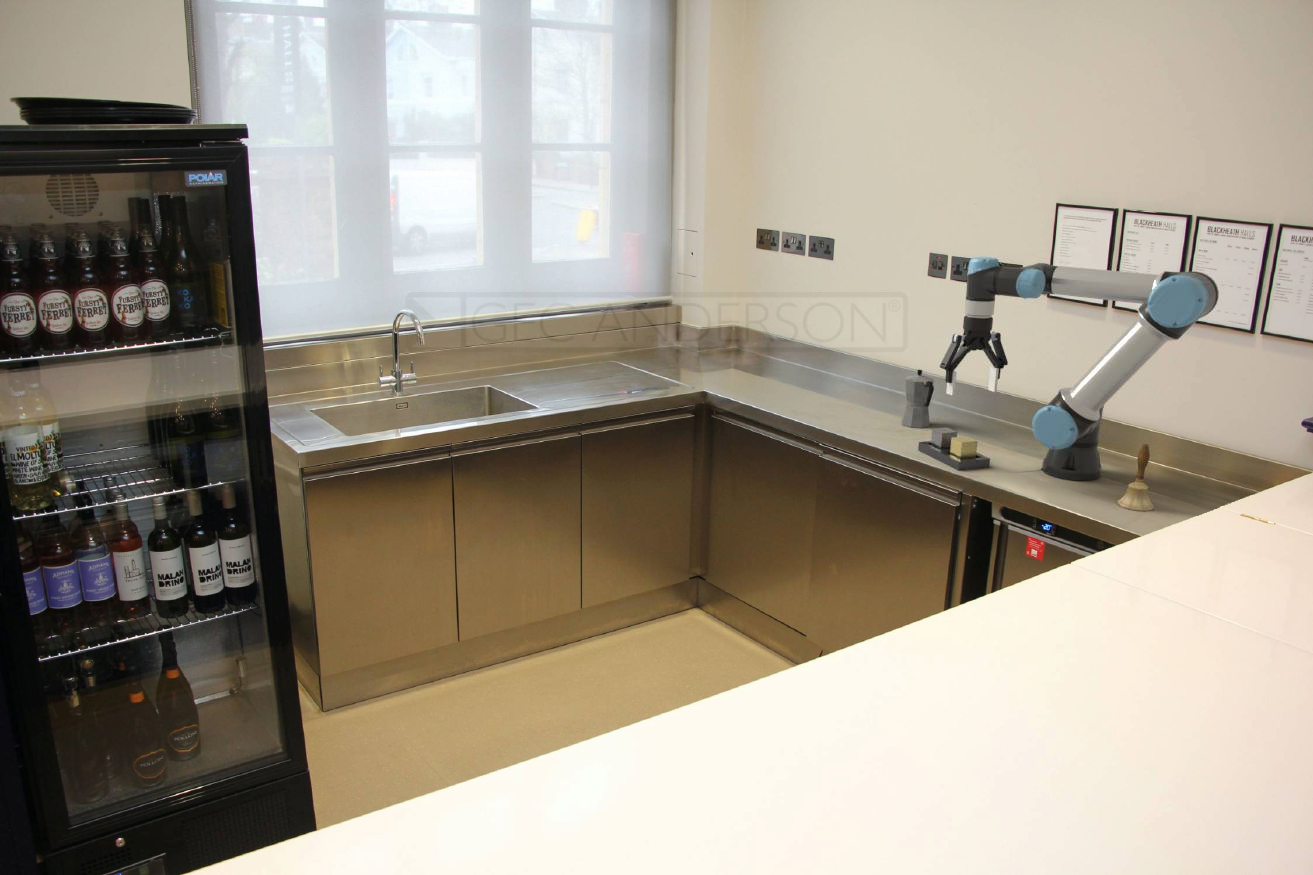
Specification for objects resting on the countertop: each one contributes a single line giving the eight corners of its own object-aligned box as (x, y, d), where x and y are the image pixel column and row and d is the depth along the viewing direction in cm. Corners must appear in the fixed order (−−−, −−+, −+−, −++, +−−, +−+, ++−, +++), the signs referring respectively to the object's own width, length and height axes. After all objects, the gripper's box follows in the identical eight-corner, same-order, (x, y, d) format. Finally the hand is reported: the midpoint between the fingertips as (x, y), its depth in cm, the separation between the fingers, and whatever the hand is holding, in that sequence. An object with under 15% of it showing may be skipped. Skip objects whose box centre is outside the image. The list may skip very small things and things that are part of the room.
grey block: (955, 455, 291) (957, 431, 289) (940, 456, 289) (942, 433, 287) (945, 450, 295) (947, 427, 293) (930, 451, 294) (932, 428, 292)
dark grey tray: (989, 469, 280) (990, 458, 279) (957, 472, 277) (959, 461, 276) (947, 449, 298) (948, 439, 298) (917, 451, 295) (918, 442, 295)
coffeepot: (892, 420, 330) (896, 366, 325) (918, 418, 332) (923, 364, 327) (915, 432, 316) (919, 376, 311) (942, 430, 318) (947, 374, 313)
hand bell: (1151, 502, 255) (1160, 441, 251) (1155, 513, 247) (1165, 450, 243) (1115, 498, 258) (1124, 438, 253) (1118, 509, 250) (1127, 447, 246)
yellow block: (975, 465, 282) (977, 441, 280) (959, 466, 280) (961, 442, 278) (964, 460, 286) (967, 436, 284) (949, 461, 285) (951, 437, 283)
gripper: (1008, 311, 279) (1000, 386, 285) (930, 315, 272) (924, 392, 277) (1026, 315, 273) (1018, 392, 278) (947, 320, 265) (940, 398, 270)
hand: (971, 392), depth 278 cm, fingers open, 13 cm apart
